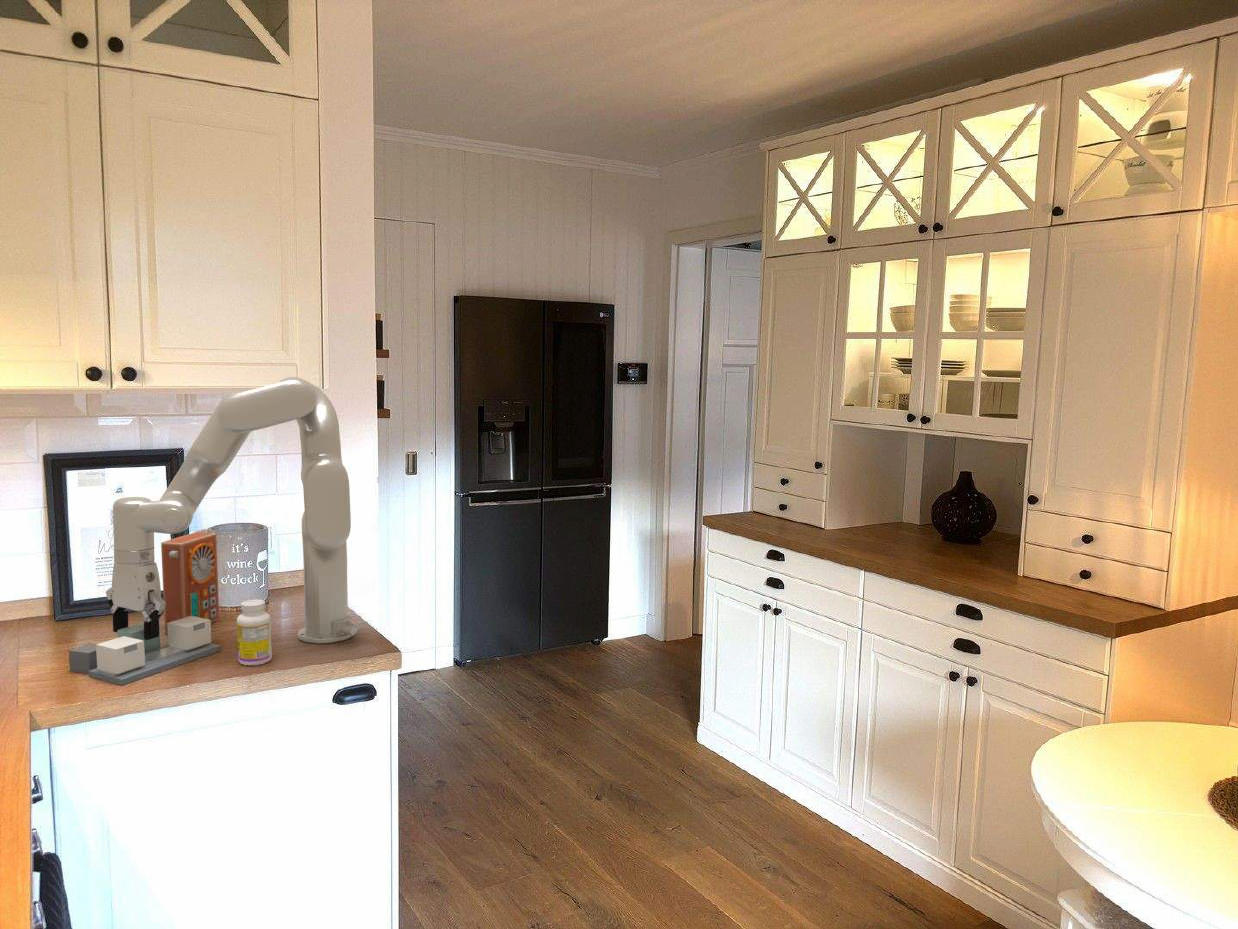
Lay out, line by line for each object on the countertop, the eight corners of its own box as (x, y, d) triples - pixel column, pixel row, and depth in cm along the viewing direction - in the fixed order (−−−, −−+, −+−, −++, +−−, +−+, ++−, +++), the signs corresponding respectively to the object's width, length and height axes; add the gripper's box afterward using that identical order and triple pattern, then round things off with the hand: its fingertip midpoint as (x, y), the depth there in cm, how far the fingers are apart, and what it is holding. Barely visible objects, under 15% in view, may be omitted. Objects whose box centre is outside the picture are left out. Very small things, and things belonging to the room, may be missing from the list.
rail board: (220, 650, 194) (219, 645, 194) (122, 685, 174) (122, 679, 174) (187, 643, 199) (187, 638, 198) (88, 676, 178) (88, 670, 178)
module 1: (110, 666, 184) (108, 645, 184) (89, 674, 179) (88, 653, 179) (90, 663, 185) (89, 642, 185) (69, 672, 181) (68, 650, 180)
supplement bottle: (244, 655, 192) (242, 597, 190) (276, 655, 192) (274, 597, 191) (233, 666, 185) (231, 606, 184) (265, 666, 186) (264, 606, 184)
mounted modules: (211, 642, 195) (210, 619, 194) (117, 674, 175) (116, 649, 174) (191, 637, 197) (190, 615, 197) (97, 668, 177) (95, 644, 177)
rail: (208, 644, 195) (208, 641, 195) (114, 676, 175) (114, 673, 175) (194, 641, 197) (194, 638, 197) (100, 672, 177) (99, 669, 177)
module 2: (160, 651, 193) (159, 624, 193) (133, 660, 188) (131, 633, 187) (146, 648, 195) (145, 621, 194) (119, 657, 189) (117, 630, 189)
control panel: (225, 618, 217) (184, 637, 203) (200, 616, 219) (157, 634, 204) (222, 532, 215) (180, 545, 200) (197, 530, 216) (153, 543, 201)
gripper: (178, 558, 188) (179, 636, 190) (123, 547, 196) (125, 623, 198) (146, 565, 182) (147, 646, 184) (90, 553, 189) (92, 632, 191)
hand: (136, 634), depth 191 cm, fingers open, 9 cm apart
